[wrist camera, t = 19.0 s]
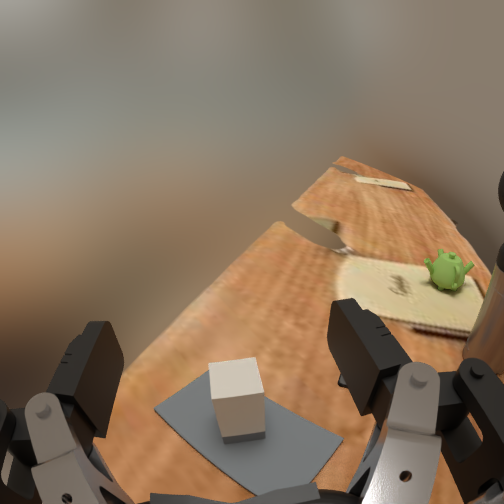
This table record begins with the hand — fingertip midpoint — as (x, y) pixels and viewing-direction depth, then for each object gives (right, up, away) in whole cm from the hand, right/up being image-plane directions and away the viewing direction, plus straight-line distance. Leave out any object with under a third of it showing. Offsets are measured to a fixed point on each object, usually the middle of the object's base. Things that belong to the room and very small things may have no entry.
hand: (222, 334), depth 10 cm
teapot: (+48, -5, +48) cm, 68 cm away
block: (-1, -10, +17) cm, 19 cm away
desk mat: (0, -20, +21) cm, 28 cm away
